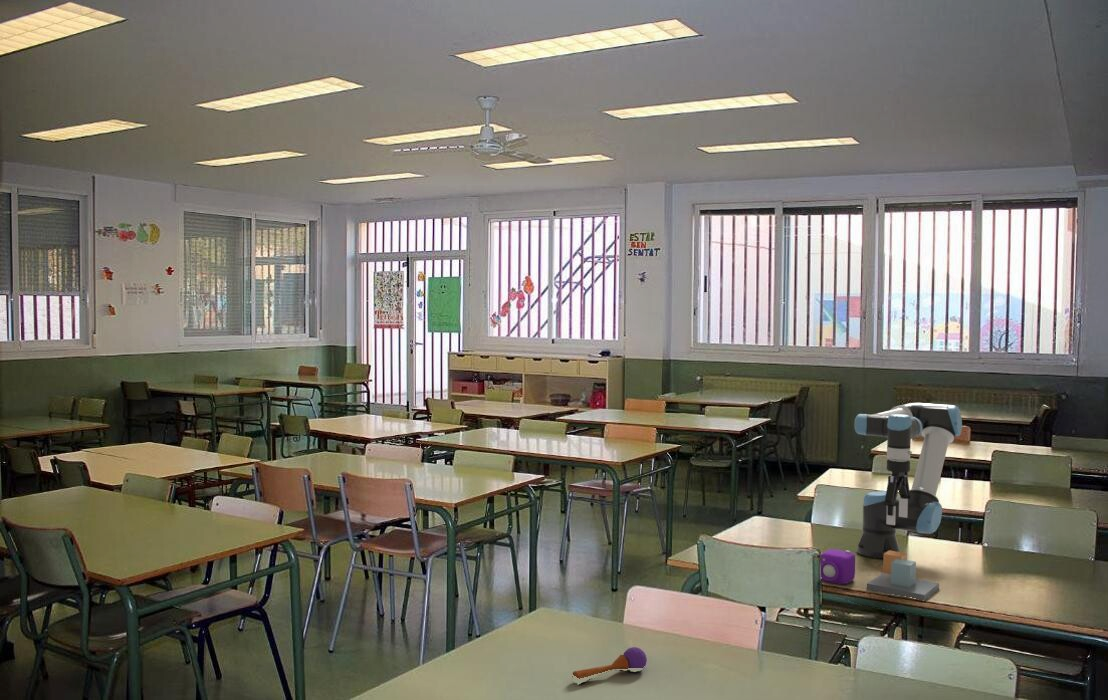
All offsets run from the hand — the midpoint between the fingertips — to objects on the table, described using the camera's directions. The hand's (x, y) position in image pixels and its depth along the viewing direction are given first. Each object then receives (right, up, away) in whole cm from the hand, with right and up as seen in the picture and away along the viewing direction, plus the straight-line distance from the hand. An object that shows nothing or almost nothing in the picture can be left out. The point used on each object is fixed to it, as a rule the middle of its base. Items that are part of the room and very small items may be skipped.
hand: (896, 520), depth 308 cm
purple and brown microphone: (-104, -21, -90) cm, 140 cm away
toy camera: (-24, -19, -10) cm, 32 cm away
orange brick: (0, -18, +1) cm, 18 cm away
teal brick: (-5, -17, -17) cm, 25 cm away
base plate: (-5, -19, -17) cm, 26 cm away
